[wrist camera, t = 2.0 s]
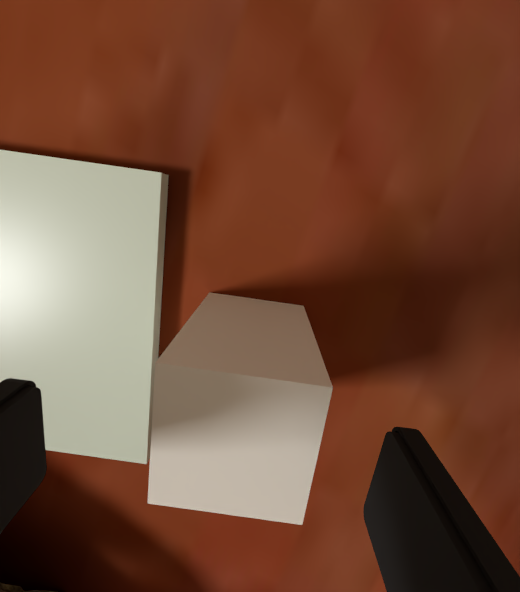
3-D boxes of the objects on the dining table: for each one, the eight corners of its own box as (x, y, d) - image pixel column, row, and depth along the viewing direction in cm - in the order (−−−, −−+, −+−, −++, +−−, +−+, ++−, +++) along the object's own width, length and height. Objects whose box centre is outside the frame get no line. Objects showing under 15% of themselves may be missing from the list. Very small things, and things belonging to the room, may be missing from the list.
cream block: (288, 388, 18) (302, 524, 10) (201, 376, 18) (147, 503, 10) (303, 305, 16) (332, 387, 9) (209, 292, 16) (155, 362, 9)
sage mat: (152, 451, 19) (146, 464, 18) (-107, 414, 19) (-127, 425, 18) (168, 175, 15) (161, 172, 14) (-163, 128, 15) (-194, 122, 14)
